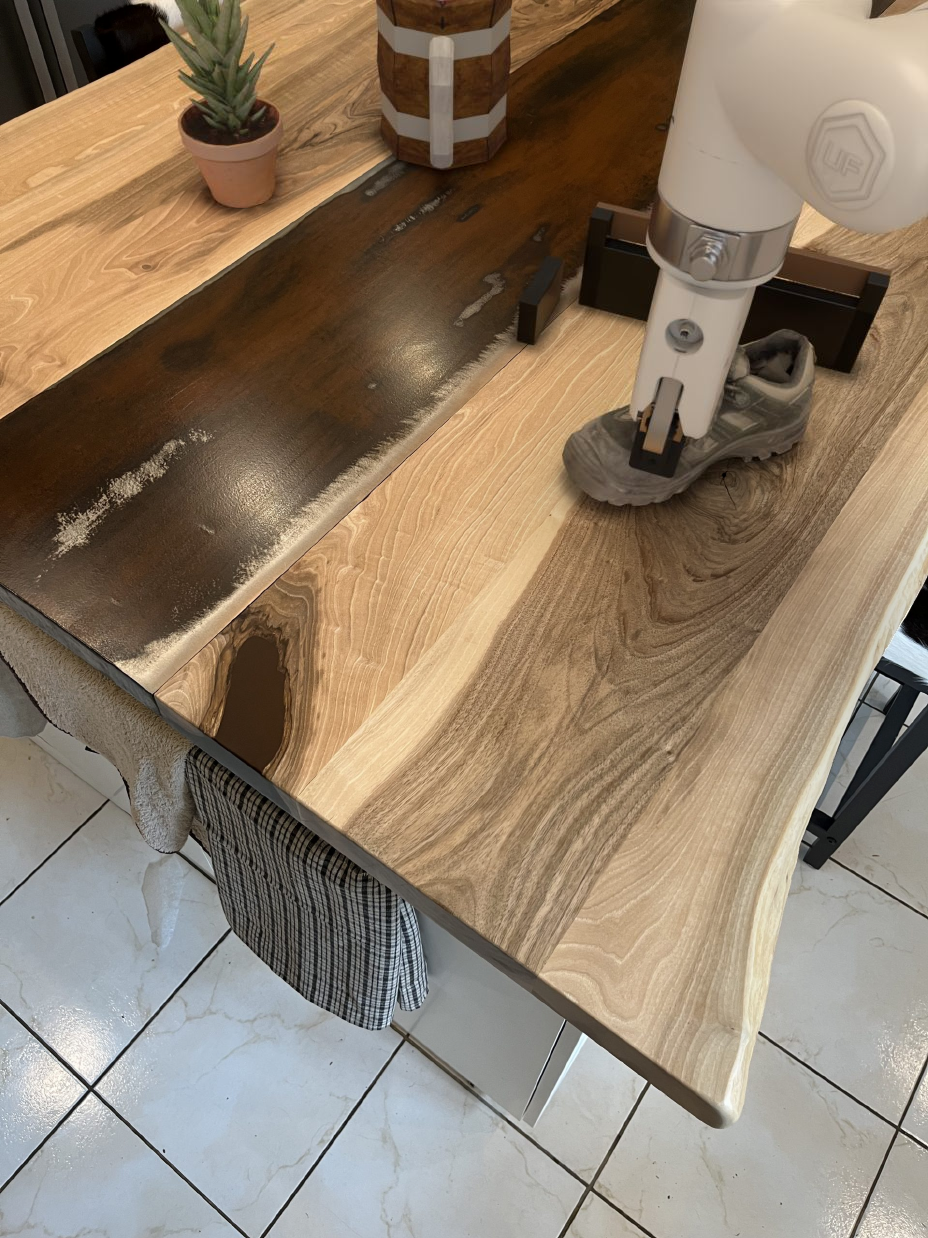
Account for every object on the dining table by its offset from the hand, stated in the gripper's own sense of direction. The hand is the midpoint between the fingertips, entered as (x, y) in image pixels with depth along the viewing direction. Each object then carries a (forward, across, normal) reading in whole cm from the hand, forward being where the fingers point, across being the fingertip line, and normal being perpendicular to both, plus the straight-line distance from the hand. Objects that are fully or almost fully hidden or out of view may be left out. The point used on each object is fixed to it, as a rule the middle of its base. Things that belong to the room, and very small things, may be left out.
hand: (652, 464), depth 65 cm
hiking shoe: (+5, +7, -2) cm, 9 cm away
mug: (+6, +42, +32) cm, 53 cm away
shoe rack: (+5, +20, +1) cm, 21 cm away
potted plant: (+6, +27, +47) cm, 55 cm away
